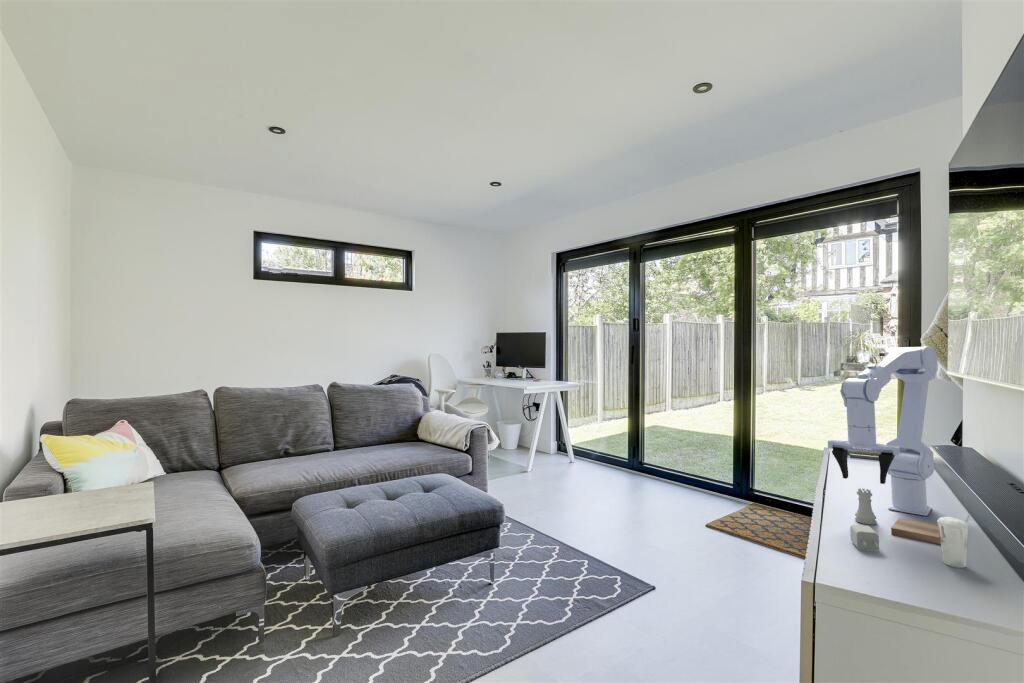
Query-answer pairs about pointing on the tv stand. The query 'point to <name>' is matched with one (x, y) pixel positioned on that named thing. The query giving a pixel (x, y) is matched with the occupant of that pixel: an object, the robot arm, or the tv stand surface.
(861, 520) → the rook chess piece
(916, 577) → the tv stand surface
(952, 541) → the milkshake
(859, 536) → the usb wall charger
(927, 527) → the walnut plinth
